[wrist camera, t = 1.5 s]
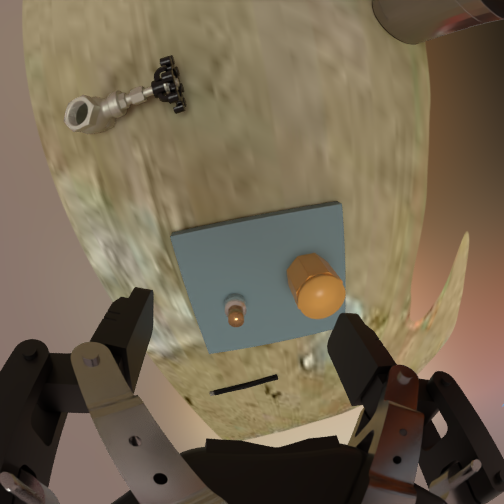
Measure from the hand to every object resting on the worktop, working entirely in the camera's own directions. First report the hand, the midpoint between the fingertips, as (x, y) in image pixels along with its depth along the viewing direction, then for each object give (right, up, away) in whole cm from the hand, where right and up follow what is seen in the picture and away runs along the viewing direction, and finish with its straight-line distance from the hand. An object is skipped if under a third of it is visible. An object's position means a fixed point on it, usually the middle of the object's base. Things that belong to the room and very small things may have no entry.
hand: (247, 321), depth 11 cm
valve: (-13, +19, +14) cm, 28 cm away
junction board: (+2, -1, +24) cm, 24 cm away
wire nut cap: (+7, 0, +22) cm, 23 cm away
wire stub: (-2, -3, +23) cm, 23 cm away
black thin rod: (-1, -20, +32) cm, 37 cm away
